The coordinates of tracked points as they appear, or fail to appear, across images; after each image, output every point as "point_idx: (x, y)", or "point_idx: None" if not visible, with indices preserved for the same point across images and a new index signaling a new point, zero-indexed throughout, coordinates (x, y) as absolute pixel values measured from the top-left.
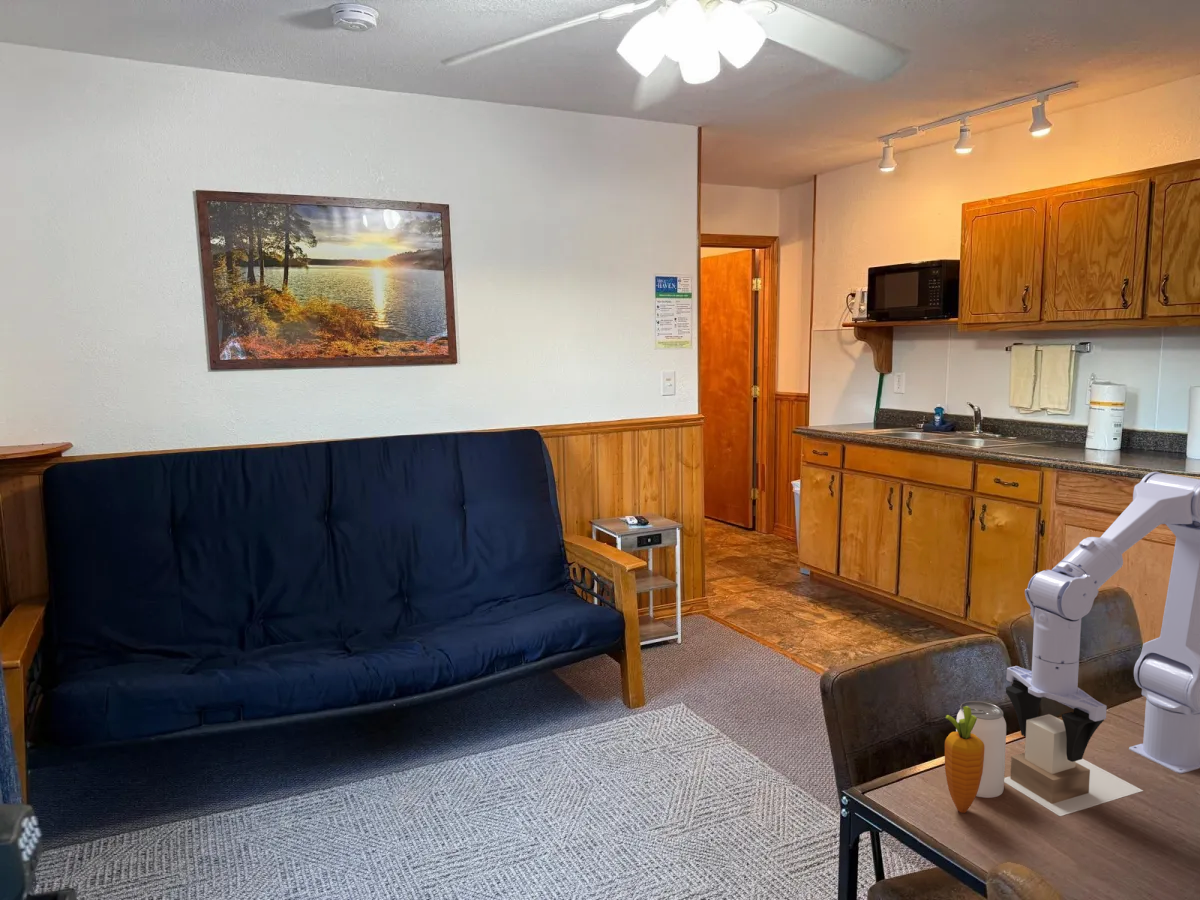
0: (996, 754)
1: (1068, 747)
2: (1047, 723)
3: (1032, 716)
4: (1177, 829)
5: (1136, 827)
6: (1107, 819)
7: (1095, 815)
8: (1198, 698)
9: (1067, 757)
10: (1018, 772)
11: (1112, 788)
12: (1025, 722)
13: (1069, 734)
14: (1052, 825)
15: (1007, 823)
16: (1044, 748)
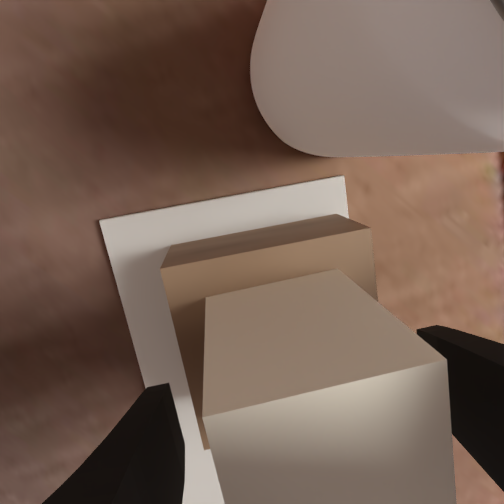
0: (278, 5)
1: (134, 423)
2: (352, 464)
3: (495, 443)
4: (11, 497)
5: (32, 406)
6: (81, 357)
7: (106, 339)
8: None
9: (164, 387)
10: (315, 225)
11: (212, 468)
12: (472, 373)
13: (81, 502)
14: (71, 170)
15: (103, 15)
16: (257, 328)
